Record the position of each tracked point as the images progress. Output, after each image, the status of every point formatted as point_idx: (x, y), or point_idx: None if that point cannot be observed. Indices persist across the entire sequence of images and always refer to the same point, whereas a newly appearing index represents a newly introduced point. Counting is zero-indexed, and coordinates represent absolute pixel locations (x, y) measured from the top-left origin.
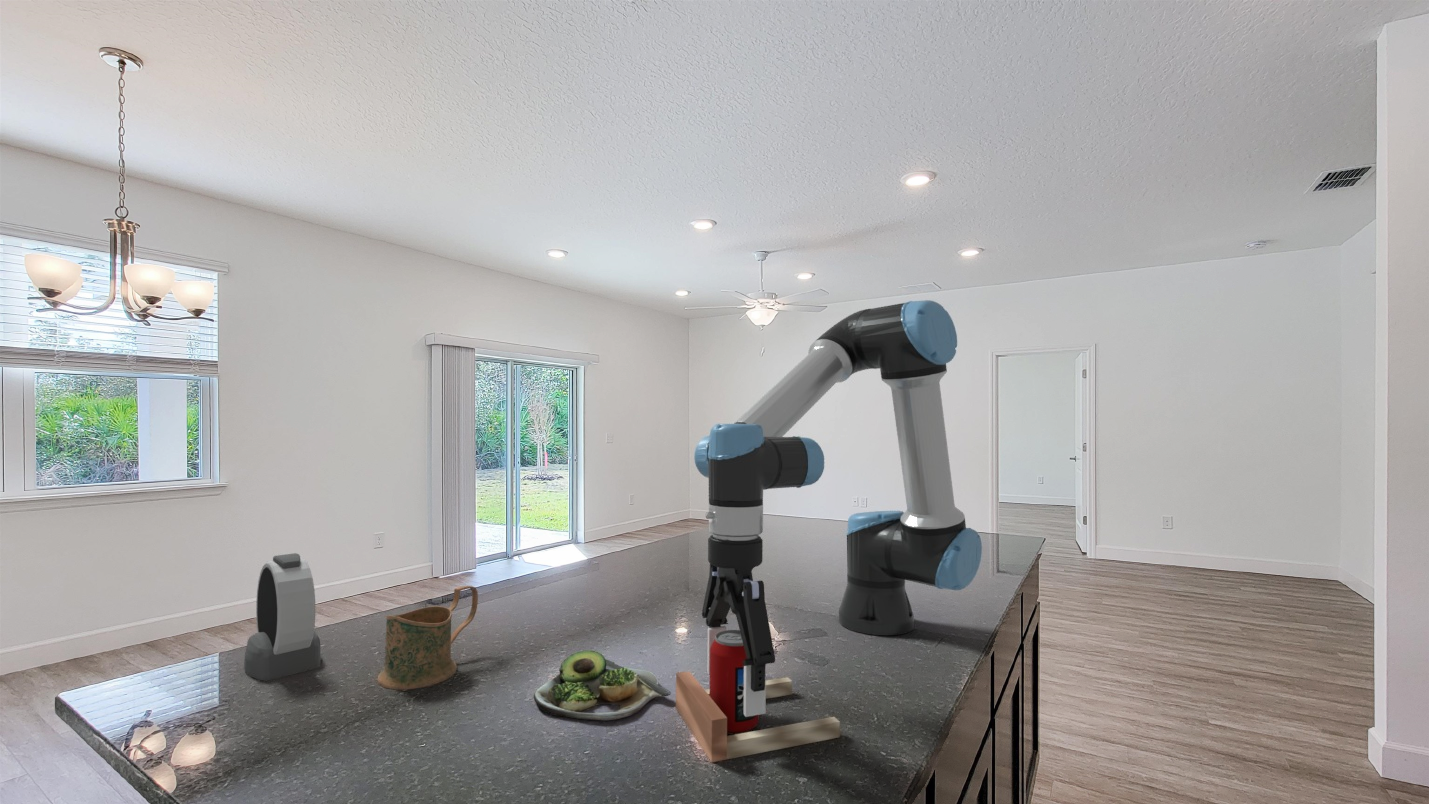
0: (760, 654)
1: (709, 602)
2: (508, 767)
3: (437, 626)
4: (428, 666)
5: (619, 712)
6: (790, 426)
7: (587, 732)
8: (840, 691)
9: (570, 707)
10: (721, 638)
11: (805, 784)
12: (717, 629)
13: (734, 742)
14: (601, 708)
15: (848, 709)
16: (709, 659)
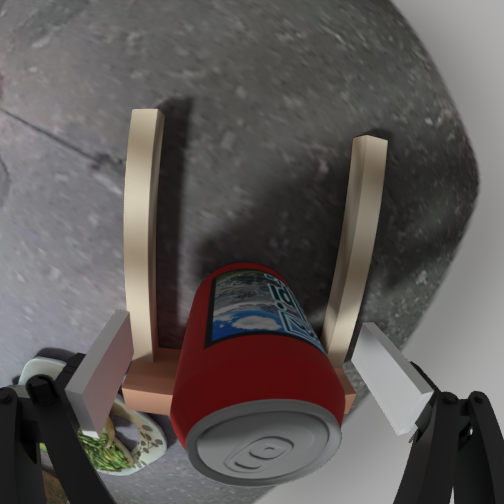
0: (468, 431)
1: (39, 485)
2: (228, 492)
3: None
4: (59, 494)
5: (163, 439)
6: None
7: (184, 455)
8: (205, 17)
9: (133, 461)
10: (248, 474)
11: (430, 279)
12: (93, 418)
13: (345, 356)
14: (123, 432)
15: (286, 49)
16: (123, 374)
